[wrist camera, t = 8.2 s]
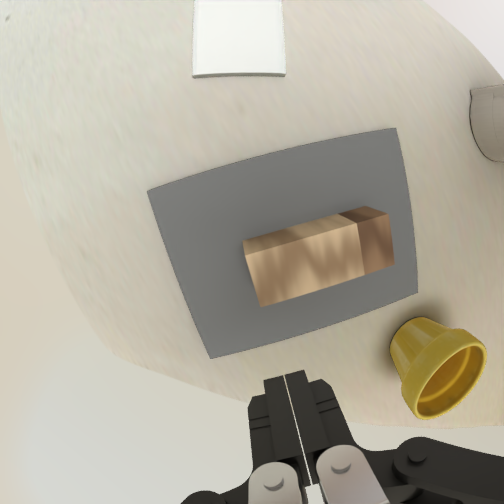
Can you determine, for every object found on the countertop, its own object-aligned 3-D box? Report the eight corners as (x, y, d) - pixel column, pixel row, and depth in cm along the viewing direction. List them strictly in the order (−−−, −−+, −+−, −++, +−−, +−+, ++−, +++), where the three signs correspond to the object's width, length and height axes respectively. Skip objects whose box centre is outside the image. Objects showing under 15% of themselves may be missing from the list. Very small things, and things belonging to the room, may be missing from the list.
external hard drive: (193, 80, 24) (196, -21, 20) (283, 78, 24) (277, -21, 20) (191, 75, 22) (195, -29, 18) (287, 73, 22) (280, -29, 19)
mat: (148, 190, 25) (146, 191, 25) (392, 128, 25) (395, 127, 25) (210, 355, 31) (210, 359, 30) (415, 290, 30) (417, 292, 30)
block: (244, 255, 22) (388, 213, 22) (242, 240, 27) (365, 205, 27) (260, 307, 24) (394, 264, 24) (255, 285, 28) (372, 250, 28)
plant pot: (450, 336, 33) (491, 374, 24) (393, 384, 35) (425, 432, 25) (430, 285, 31) (482, 323, 21) (363, 341, 32) (401, 395, 22)
